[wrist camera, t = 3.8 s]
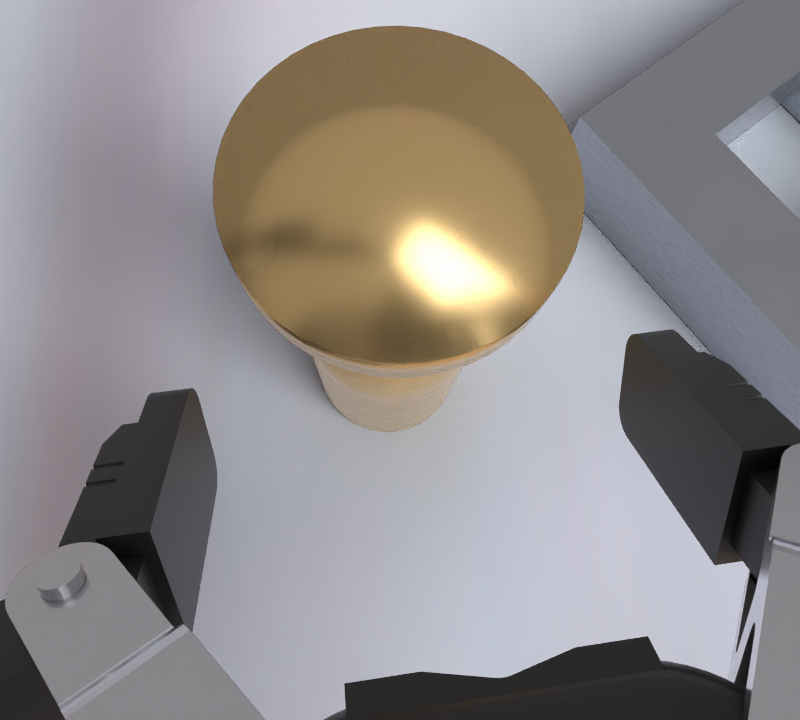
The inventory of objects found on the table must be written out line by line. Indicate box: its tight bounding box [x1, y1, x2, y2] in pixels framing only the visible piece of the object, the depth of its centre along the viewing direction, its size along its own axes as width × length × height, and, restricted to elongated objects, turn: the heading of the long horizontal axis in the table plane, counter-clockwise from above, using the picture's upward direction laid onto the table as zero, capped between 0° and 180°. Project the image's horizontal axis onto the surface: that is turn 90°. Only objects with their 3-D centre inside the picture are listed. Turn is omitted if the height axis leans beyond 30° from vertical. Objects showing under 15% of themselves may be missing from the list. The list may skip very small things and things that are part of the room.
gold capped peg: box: [213, 26, 585, 432], centre depth 16 cm, size 6×6×12 cm
